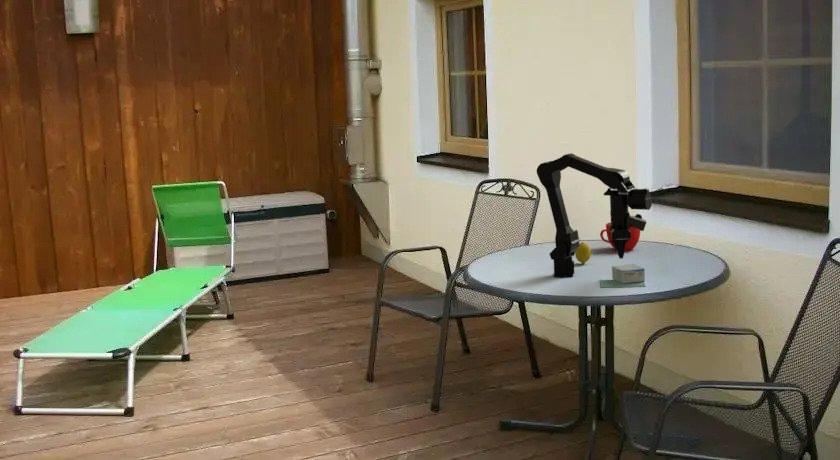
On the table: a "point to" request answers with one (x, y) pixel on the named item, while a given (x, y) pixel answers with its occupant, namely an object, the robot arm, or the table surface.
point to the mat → (620, 284)
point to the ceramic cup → (630, 244)
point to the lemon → (583, 253)
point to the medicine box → (628, 273)
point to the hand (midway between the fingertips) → (620, 255)
